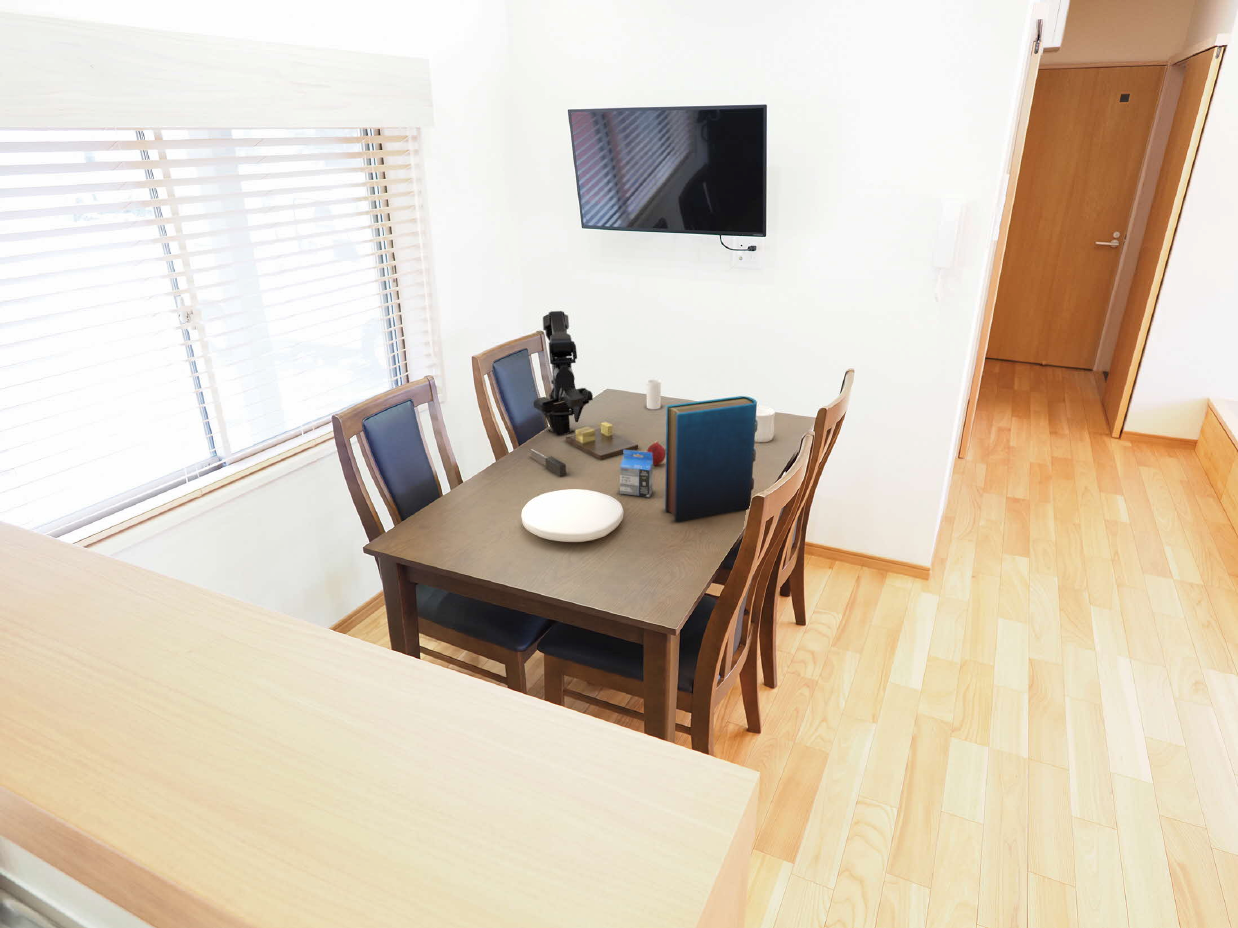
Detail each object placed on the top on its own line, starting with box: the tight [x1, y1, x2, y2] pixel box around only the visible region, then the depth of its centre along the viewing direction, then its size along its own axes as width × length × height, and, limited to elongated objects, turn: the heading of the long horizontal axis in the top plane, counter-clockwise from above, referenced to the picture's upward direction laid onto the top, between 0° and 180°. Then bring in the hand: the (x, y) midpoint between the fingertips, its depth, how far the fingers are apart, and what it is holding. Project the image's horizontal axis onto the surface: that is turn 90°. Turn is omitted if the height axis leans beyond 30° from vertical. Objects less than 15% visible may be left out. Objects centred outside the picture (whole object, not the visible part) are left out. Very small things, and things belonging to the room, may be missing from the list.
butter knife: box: [530, 448, 567, 477], centre depth 241 cm, size 18×2×4 cm, turn 37°
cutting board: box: [564, 426, 639, 461], centre depth 257 cm, size 20×15×5 cm
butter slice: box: [600, 421, 614, 436], centre depth 263 cm, size 4×2×4 cm, turn 37°
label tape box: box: [619, 450, 654, 498], centre depth 222 cm, size 9×4×12 cm, turn 73°
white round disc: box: [520, 488, 625, 543], centre depth 205 cm, size 28×6×27 cm
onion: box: [646, 440, 666, 466], centre depth 241 cm, size 6×6×8 cm
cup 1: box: [646, 378, 662, 410], centre depth 291 cm, size 5×5×10 cm
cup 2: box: [754, 405, 776, 443], centre depth 261 cm, size 10×10×10 cm
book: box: [664, 395, 758, 523], centre depth 209 cm, size 24×9×30 cm, turn 110°
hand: (564, 425), depth 248 cm, fingers open, 9 cm apart
